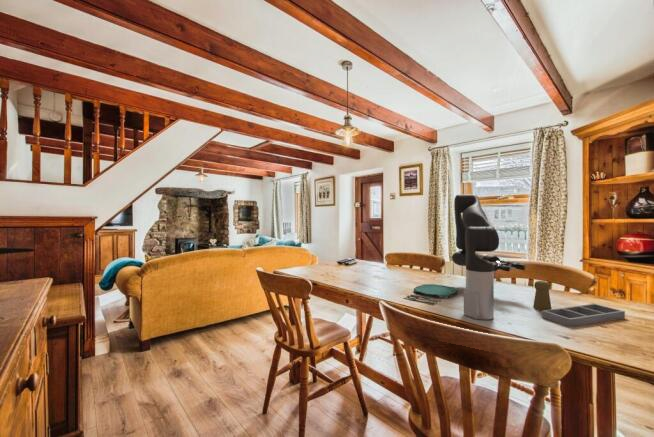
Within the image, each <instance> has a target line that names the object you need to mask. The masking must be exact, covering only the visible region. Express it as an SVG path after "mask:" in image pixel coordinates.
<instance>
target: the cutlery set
mask: <svg viewBox="0 0 654 437" xmlns="http://www.w3.org/2000/svg"><path fill="white" fill-rule="evenodd" d="M459 290H460V289H458V288H456V287H454V286H446V285H441V284H436V283H435V284H434V283H427V284H426V283H425V284H422V285H417V286H416V287H414V288H413V291H414V292H415V293H416V294H418V293H419V294H421V295H419V294H418V295H416V294H410V295H406V297H403V298H402V299H403V300H408V301H412V302H413V301H414V302H418V303H422V304H427V305H433V306H435V303H436V304H437V303H439V302H442V300H445V299H447V298H448V297H450V296H454V295H457V294H458V293H459ZM422 295H424V296H422ZM430 296H431V297H430ZM433 297H440V298H441V299H442V300H441V299H436V298H433Z"/></svg>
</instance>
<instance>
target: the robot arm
mask: <svg viewBox="0 0 654 437" xmlns="http://www.w3.org/2000/svg"><path fill="white" fill-rule="evenodd" d="M453 204H454V205H453V206H454V208H453V209H454V221H455V230H456V234H455V235H456V236H455V246H456V248H457V249H458V250H459V251H456V252H454V253H453V254H452V256H451V259H452V262H453V263H454V264H455V265H457V266H460V267H465V288H464V289H463V315H465V316H467V317H468V318H472V319H474V320H485V321H487V320H493V319H494V318H495V317H494V316H495V315H494V312H495V311H494V309H495V308H494V305H495V304H494V302H495V299H494V298H495V297H494V294H495V293H494V292H495V290H494V286H495V284H494V283H495V282H494V280H495V278H494V277H495V276H494V275H495V274H494V273H495V272H496V271H505V272H510V271H511V270H512V269H514V270H515V269H516V270H519V271H520V270H521V271H525V270H526V265H525V264H521V262H516V261H511V260H501V259H500V258H499V257H498V256H496V255H493V254H488V252H489V253H490V252H494V251H496V250H497V249H498V248H499V246H500V237H499V234H498V232H497V230H496V228H495V227H494V225H493V224H492V223H491V222H490V221H489V219H488V217H487V214H486V213H485V210H483V208H482V206H481V205H482V204H481V202H480V199H479V197H478V195H477V194H474V193H472V194H471V193H470V194H469V193H468V194H466V193H465V194H464V193H463V194H456V195H455V197H454V200H453ZM478 252H482V253H478ZM483 252H485V253H483ZM486 253H487V254H486Z"/></svg>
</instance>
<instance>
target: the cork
mask: <svg viewBox="0 0 654 437" xmlns="http://www.w3.org/2000/svg"><path fill="white" fill-rule="evenodd" d="M533 284H534V289H535V293H534V294H535V295H534V300H533V307H532V308H533V309H534V310H536V311H541V312H542V311H543V310H550V309H553V308H552V304H551V298H550V297H551V296H550V290H551V284H550V282H549V281H545V280H544V281H543V280H537V281H535V282H534V283H533Z"/></svg>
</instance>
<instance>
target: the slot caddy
mask: <svg viewBox="0 0 654 437" xmlns="http://www.w3.org/2000/svg"><path fill="white" fill-rule="evenodd" d="M625 314H626V311H625V310H621V309H617V308H612V307H609V306H605V305H601V304H596V303H588V304H581V305H574V306H566V307H558V308H552V309H550V310H543V311H541V317H542V318H543V319H545V320H549V321H552V322H556V323H558V324H561V325H564V326H566V327H570V328H571V327H572V328H573V327H578V326H579V327H580V326H584V325H590V324H597V323H604V322H609V321H610V322H611V321H617V320H622V319H625V317H626V316H625Z"/></svg>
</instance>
